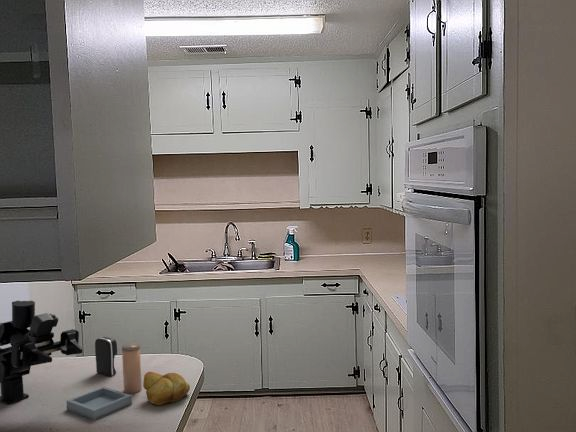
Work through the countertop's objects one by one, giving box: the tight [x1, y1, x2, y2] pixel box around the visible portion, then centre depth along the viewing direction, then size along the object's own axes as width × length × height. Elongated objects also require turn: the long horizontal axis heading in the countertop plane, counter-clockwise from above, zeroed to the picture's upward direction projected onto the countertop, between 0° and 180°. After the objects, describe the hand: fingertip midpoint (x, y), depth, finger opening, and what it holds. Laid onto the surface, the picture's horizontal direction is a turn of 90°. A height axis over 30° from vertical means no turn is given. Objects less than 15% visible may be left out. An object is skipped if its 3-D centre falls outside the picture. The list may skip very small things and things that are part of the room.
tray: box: [66, 386, 133, 421], centre depth 159 cm, size 12×12×2 cm
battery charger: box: [94, 336, 118, 377], centre depth 184 cm, size 7×4×11 cm, turn 58°
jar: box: [121, 342, 143, 394], centre depth 170 cm, size 5×5×13 cm
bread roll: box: [142, 371, 191, 406], centre depth 163 cm, size 13×10×8 cm
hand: (67, 355), depth 151 cm, fingers open, 9 cm apart
